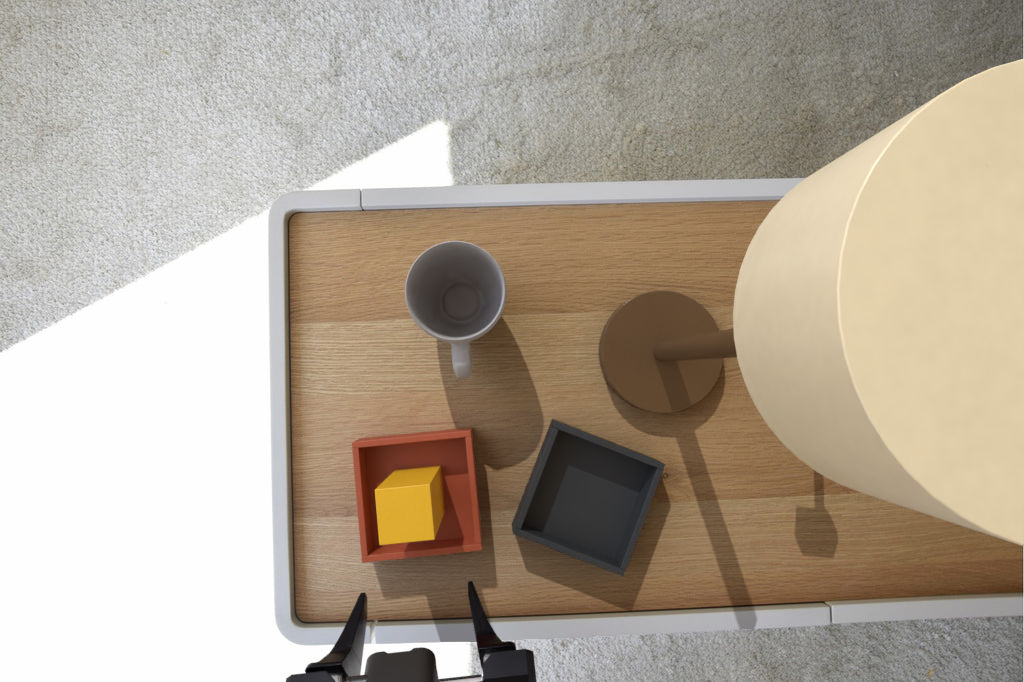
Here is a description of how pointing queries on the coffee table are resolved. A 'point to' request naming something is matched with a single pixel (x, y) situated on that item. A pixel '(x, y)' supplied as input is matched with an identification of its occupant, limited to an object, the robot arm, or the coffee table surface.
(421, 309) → the mug
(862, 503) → the coffee table surface
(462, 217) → the coffee table surface
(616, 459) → the bin right
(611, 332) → the tall lamp
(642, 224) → the coffee table surface
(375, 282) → the coffee table surface
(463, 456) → the bin left
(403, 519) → the yellow box
